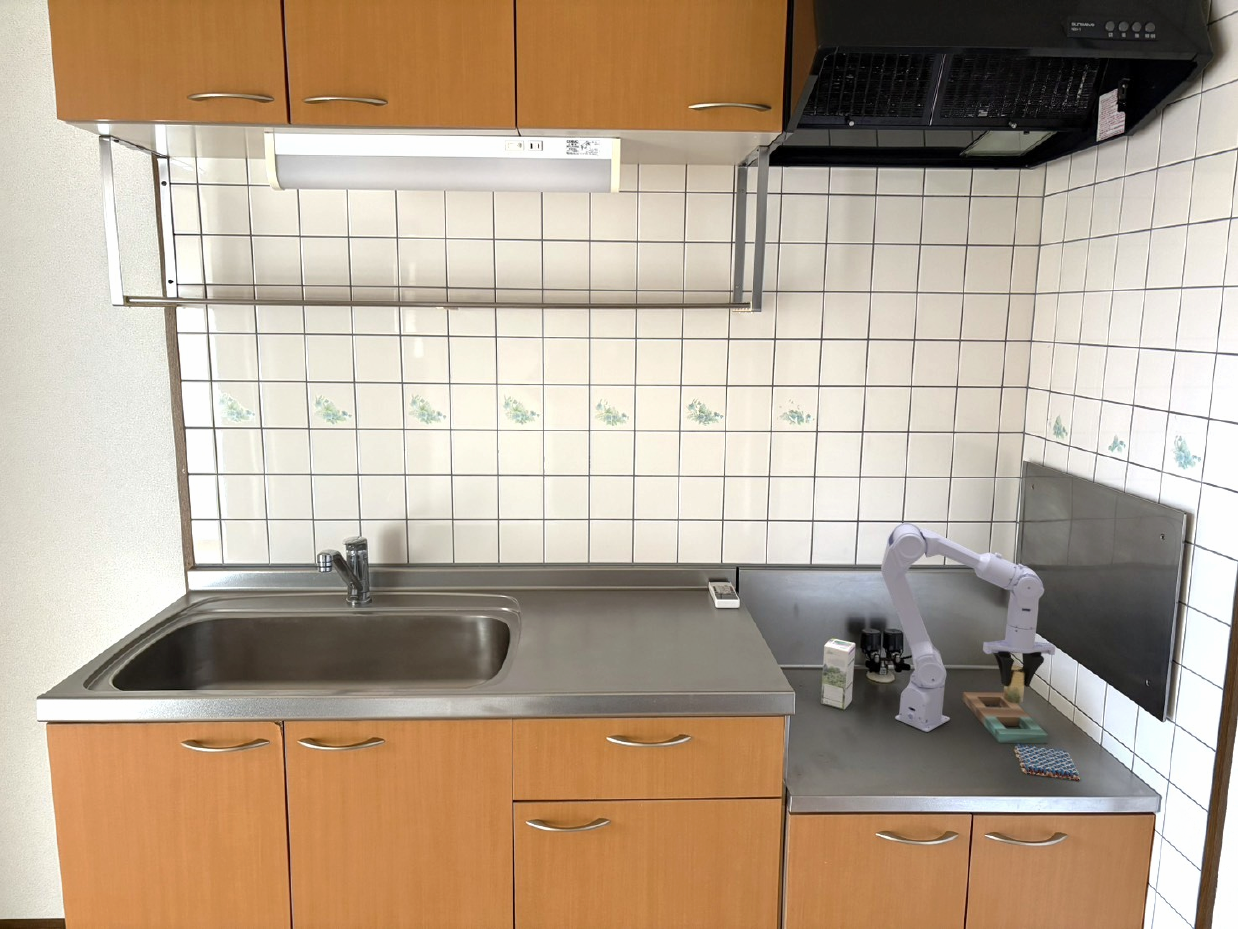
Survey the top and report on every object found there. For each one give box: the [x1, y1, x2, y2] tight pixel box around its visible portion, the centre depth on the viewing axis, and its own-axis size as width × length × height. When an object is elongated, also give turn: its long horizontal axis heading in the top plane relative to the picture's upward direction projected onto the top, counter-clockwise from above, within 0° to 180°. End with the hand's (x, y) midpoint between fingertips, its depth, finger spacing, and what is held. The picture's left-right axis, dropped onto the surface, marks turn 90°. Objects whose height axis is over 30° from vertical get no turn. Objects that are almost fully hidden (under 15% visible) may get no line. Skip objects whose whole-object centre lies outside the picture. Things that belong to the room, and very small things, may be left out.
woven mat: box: [1013, 743, 1081, 781], centre depth 171 cm, size 10×11×2 cm
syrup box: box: [820, 638, 856, 710], centre depth 195 cm, size 6×6×14 cm
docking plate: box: [961, 691, 1048, 744], centre depth 189 cm, size 20×10×2 cm, turn 0°
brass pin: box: [1003, 664, 1026, 704], centre depth 183 cm, size 4×4×7 cm
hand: (1015, 684), depth 183 cm, fingers closed on brass pin, 4 cm apart
